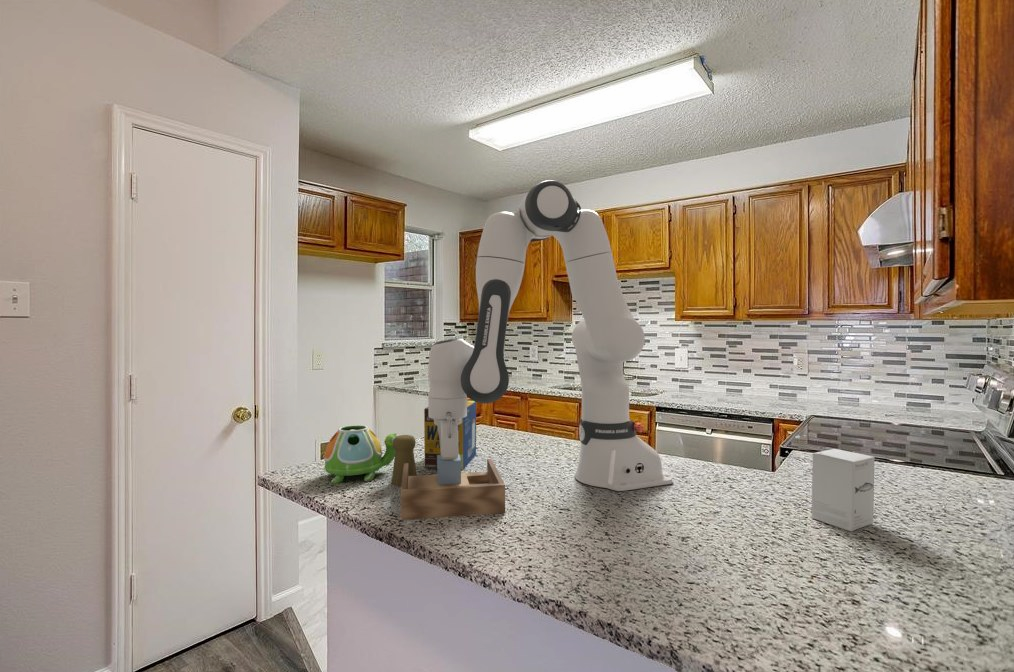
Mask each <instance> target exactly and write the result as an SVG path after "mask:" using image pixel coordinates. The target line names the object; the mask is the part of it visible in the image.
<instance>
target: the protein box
mask: <svg viewBox="0 0 1014 672" xmlns="http://www.w3.org/2000/svg"><path fill="white" fill-rule="evenodd" d="M423 412H424V413H423V415H424V417H423V418H424V421H423V424H424V432H423V433H424V434H423V435H424V438H423V439H424V441H423V442H424V468H425V469H436V468H437V455H441V451H440V441H439V434H438V427H437V425H435V424H434V419H432V418H430V417H429V416H428V406H427V407H425V408H424V410H423ZM458 454H460V458H461V471H463V470H464V469H465V468H466V467H467V465H468V464H469V463H470V462H471V461H472V460H473V459H474V458H475V456H477V402H475V401H473V400H467V416H466V417H464V418H462V423H461V424H459V425H458Z"/></svg>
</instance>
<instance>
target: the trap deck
mask: <svg viewBox="0 0 1014 672" xmlns="http://www.w3.org/2000/svg"><path fill="white" fill-rule="evenodd" d="M486 464H487V465H486V471H478V472H477V471H476V472H461V483H458V484H440V485H438V480H437V473H436V474H422V475H417V476H409V463H404V467H403V476H402V484H401V487H400V521H408V520H409V521H410V520H421V519H423V520H424V519H435V518H436V519H437V518H449V517H450V518H451V517H463V516H464V517H465V516H479V515H491V514H506V484H505V482H504V480H503V478H502V476H501V475H500V472H499V471H498V469H497V467H496V465H495V463H494V461H493V458H487V459H486Z"/></svg>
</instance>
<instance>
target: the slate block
mask: <svg viewBox="0 0 1014 672" xmlns="http://www.w3.org/2000/svg"><path fill="white" fill-rule="evenodd" d="M436 470H437V471H436V472H437V473H436V474H437V480H438V485H440V484H458V483H461V473H462V470H461V458H460V454H458V458H457V459H451V460H443V459H442V458H441V455H437V469H436Z"/></svg>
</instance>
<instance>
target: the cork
mask: <svg viewBox="0 0 1014 672" xmlns="http://www.w3.org/2000/svg"><path fill="white" fill-rule="evenodd" d="M393 447H394V449H395V457H394V459H393V467H392V475H391V486H394V487H399V488H401V484H402V476H403V467H404V463H409V476H418V473H417V467H416V466H417V465H416V458H415V452H414V449H415V447H416V438H415V437H414V436H413V435H411V434H401V435H398V436H397V437H395V438H394V440H393Z"/></svg>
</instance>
